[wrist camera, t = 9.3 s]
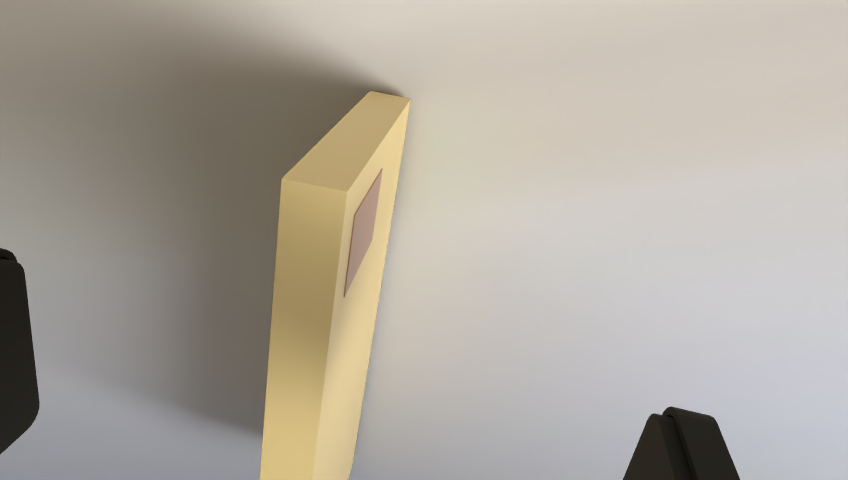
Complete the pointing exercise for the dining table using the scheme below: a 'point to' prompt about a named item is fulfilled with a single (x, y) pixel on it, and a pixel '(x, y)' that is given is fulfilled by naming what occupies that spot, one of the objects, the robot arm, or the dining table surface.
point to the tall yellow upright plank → (329, 290)
